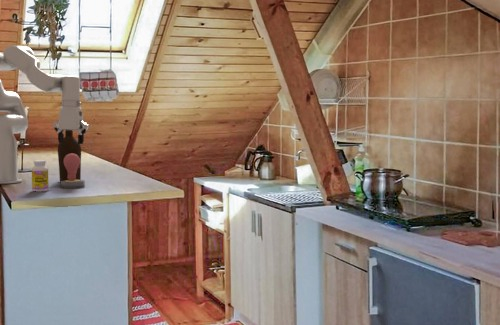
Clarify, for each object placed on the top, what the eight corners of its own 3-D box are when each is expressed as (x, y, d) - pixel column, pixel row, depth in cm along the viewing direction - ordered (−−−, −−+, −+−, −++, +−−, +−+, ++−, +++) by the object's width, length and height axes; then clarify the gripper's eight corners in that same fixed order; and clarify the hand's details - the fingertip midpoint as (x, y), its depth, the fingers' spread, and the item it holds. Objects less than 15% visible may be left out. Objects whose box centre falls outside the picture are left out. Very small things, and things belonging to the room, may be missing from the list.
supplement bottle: (32, 192, 270) (31, 161, 268) (31, 190, 276) (30, 160, 274) (49, 191, 272) (48, 161, 271) (47, 189, 278) (46, 159, 277)
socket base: (56, 187, 282) (56, 181, 282) (69, 184, 292) (69, 178, 291) (77, 188, 279) (76, 182, 279) (88, 185, 289) (88, 179, 289)
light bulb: (84, 180, 286) (83, 153, 284) (70, 182, 280) (69, 154, 279) (74, 178, 290) (73, 152, 289) (60, 180, 285) (59, 153, 283)
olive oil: (70, 183, 295) (69, 128, 292) (53, 181, 300) (52, 128, 297) (86, 180, 305) (85, 127, 302) (69, 179, 309) (68, 127, 307)
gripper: (92, 104, 283) (92, 143, 285) (58, 103, 287) (58, 141, 290) (83, 105, 276) (83, 145, 278) (48, 103, 280) (48, 142, 282)
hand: (70, 143), depth 284 cm, fingers open, 9 cm apart
